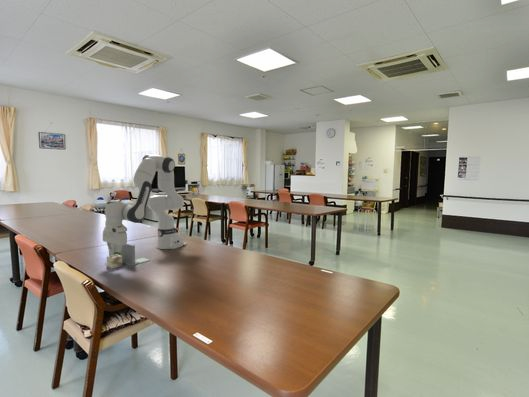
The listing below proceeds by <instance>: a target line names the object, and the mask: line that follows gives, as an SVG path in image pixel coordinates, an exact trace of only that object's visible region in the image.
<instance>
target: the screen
mask: <svg viewBox="0 0 529 397" xmlns="http://www.w3.org/2000/svg"><path fill="white" fill-rule="evenodd" d="M135 248H136V245H134V244H131V243H128V242H127V243H126V245H122V248H121V252H120V256H122V265H123V264H124V265H127V266H129V267H132V266H136V265H138V264H139V263H138V262H135V260H136V249H135Z"/></svg>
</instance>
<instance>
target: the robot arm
mask: <svg viewBox="0 0 529 397" xmlns="http://www.w3.org/2000/svg"><path fill="white" fill-rule="evenodd" d="M175 167H176V163H175V160H174V159H173V158H172V157H169V156H165V155H163V154H154V153H146V154H145V155H144V156H143V157H142V159H141V162H140V164H139V165H138V167H137V169H136V170H135V172H134V175H133V183H134V185H135V186H136V187H137V188H138V195H137V198H136V201H135V202H134V204H133V205H132V204H128V203H125V202H123V201H121V200H120V199H112V200H108V201H106V204H105V206H104V214H105V215H104V217H105V222H104V223H105V225H104V227H103V231H102V241H103V242H105V243H106V246H107V249H108V251H109V250H112V246H111V243H112V244H116V245H118V249H117V252H121V248H122V245H126V243H128V233H127V231H128V228H127V226H126V225H124V224H123V221H128V222H132V223H135V224H139V223H141V222H142V221H144V220H145V218H146V214H147V213H146V211H147V207H148V208H149V210H151V211H152V212H154V214H155V216H156V218H157V224H158V226H157V227H158V228H157V235H158V236H157V243H156V249H160V250H168V249H171V250H172V249H173V250H175V249H178V248H181V247H184V246H186V245H187V242H185V241H184V237H183V236H182V235H181V234H180V233H178V232H177V231H179V228H178V227H175V218H174V217H173V216H172V215H171V214H168V213H167V212H166V211H168V210H169V211H171V210H172V211H174V210H180V209H182V208H183V206H184V204H185V200H184V197H183V196H182V195H180V194H179V193H178V192H177V191H176V189H175V173H174V170H175ZM156 172H157V188H158V190H159V191H161V192H163V193H165V194H163V195H162V194H157V195H152V196H151V191H152V184H153V180H154V178H155V175H156ZM183 245H184V246H183Z"/></svg>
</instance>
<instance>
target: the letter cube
mask: <svg viewBox="0 0 529 397" xmlns="http://www.w3.org/2000/svg"><path fill="white" fill-rule="evenodd" d="M122 266H123V263H122V256H120V255H117V254H116V255H111V256H109V255H108V256H107V255H106V267H108V268H111V269H114V268H119V267H122Z"/></svg>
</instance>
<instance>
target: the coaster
mask: <svg viewBox="0 0 529 397" xmlns="http://www.w3.org/2000/svg"><path fill="white" fill-rule="evenodd" d="M135 262H138V264H142V263H146V262H150V259H149V258H145V257H141V258H137V259H135Z"/></svg>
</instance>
